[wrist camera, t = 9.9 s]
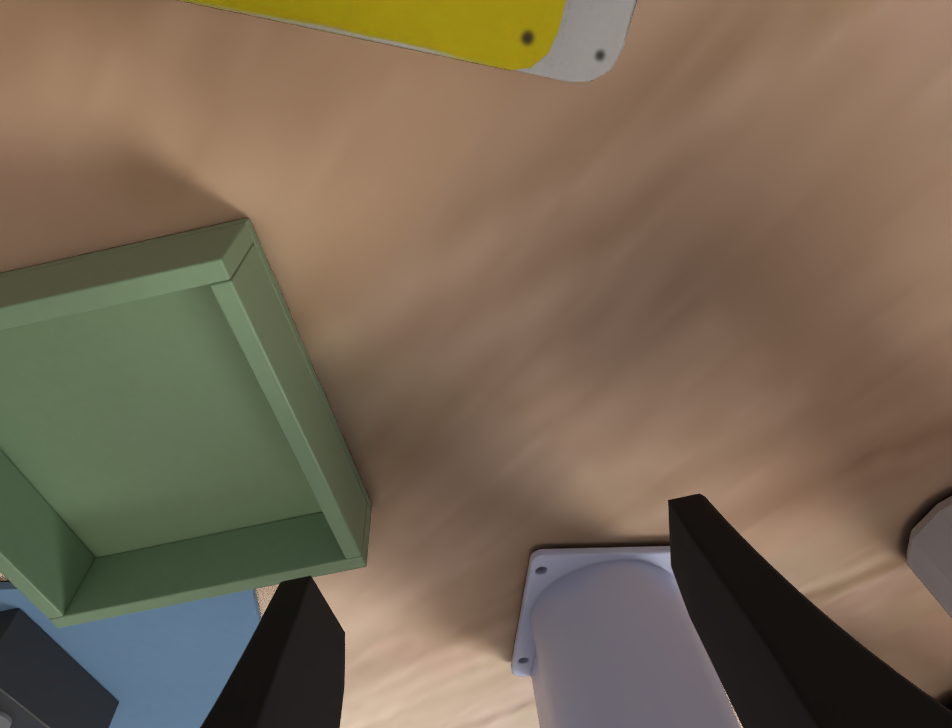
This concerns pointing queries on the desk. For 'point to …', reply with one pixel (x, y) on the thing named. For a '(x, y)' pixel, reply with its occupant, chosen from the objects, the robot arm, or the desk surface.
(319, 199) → the desk surface
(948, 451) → the desk surface
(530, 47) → the emergency button
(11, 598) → the mat
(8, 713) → the remote
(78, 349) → the caddy
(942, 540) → the water bottle
